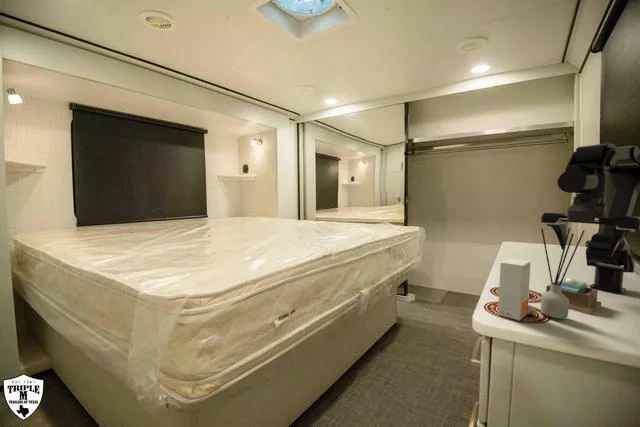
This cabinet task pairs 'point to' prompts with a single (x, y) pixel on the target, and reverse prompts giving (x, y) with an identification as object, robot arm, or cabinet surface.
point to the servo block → (573, 286)
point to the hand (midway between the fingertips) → (585, 252)
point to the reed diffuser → (555, 288)
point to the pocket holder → (582, 300)
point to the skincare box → (514, 288)
